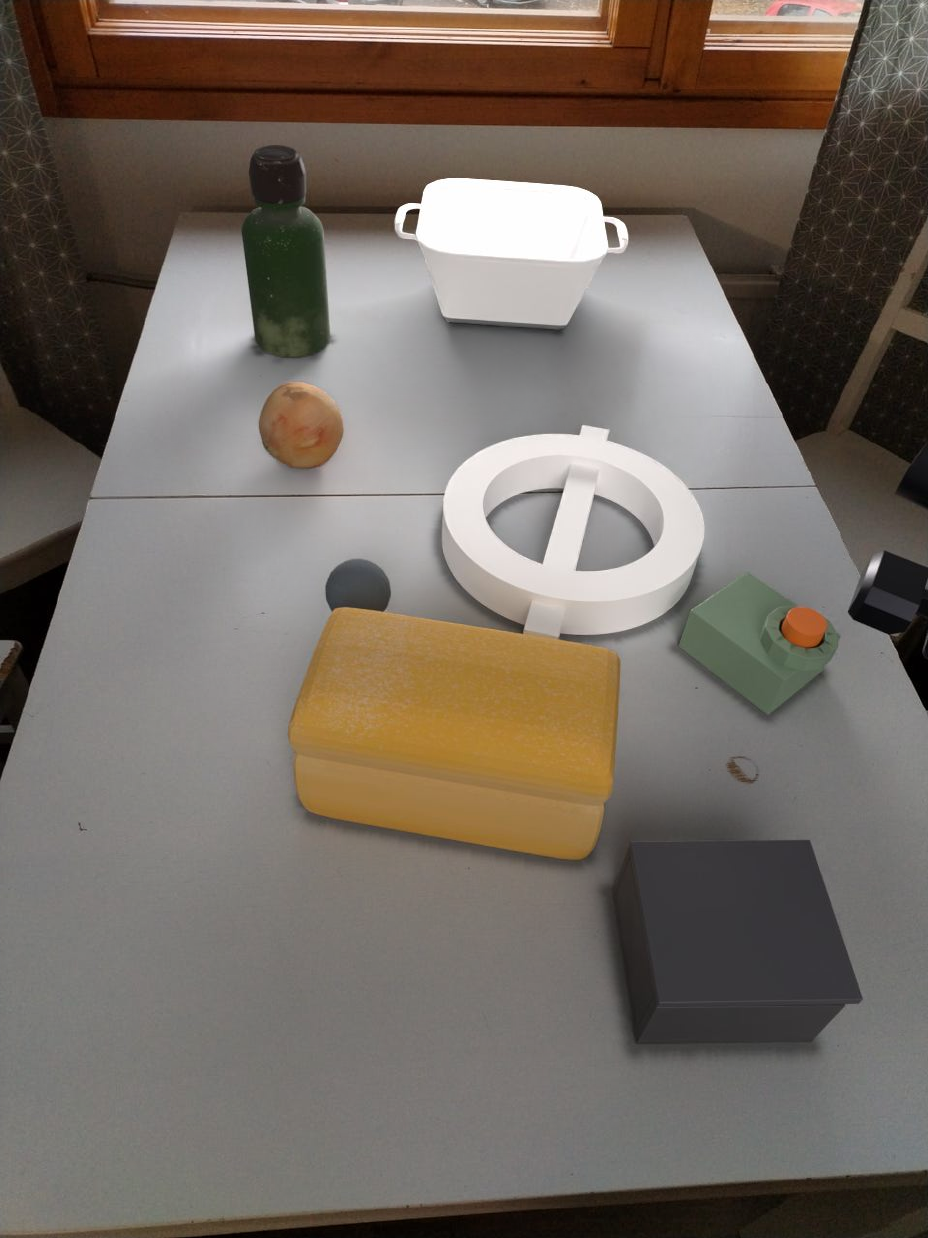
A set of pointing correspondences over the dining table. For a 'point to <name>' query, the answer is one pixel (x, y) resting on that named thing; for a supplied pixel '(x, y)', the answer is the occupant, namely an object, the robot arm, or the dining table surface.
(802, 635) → the button
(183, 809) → the dining table surface
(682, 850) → the fryer lid
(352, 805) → the bread
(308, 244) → the green bottle
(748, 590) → the control block
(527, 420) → the dining table surface
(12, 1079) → the dining table surface
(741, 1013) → the charcoal lidded box
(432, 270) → the tub
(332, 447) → the orange-brown rounded lump
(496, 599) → the white circle with bar
